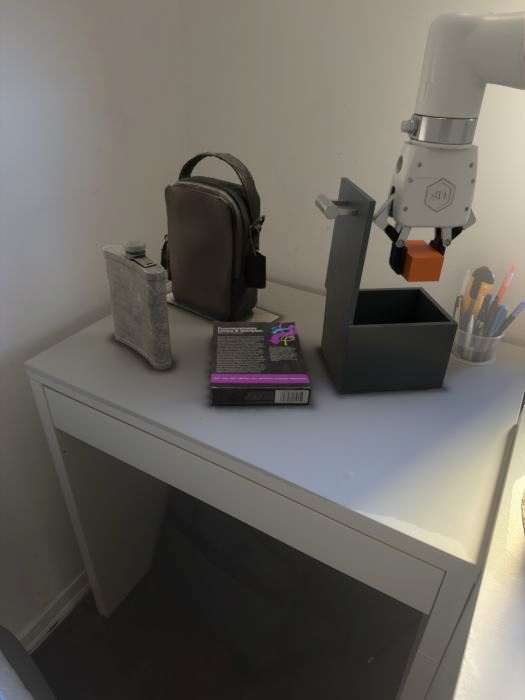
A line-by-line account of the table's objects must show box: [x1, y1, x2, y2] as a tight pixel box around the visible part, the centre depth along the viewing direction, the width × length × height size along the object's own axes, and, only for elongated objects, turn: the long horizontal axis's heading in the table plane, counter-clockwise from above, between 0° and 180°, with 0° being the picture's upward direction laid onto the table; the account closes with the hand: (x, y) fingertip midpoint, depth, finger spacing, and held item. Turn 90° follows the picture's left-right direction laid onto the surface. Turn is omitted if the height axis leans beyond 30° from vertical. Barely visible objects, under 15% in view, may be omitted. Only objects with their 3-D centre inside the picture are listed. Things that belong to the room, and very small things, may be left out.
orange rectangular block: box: [401, 239, 445, 283], centre depth 70 cm, size 7×4×4 cm, turn 7°
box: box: [209, 320, 312, 405], centre depth 77 cm, size 14×4×20 cm
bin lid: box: [314, 176, 377, 325], centre depth 67 cm, size 16×13×5 cm
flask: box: [102, 239, 173, 371], centre depth 77 cm, size 4×14×18 cm, turn 44°
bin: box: [320, 286, 459, 394], centre depth 76 cm, size 16×13×11 cm
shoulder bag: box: [159, 150, 280, 322], centre depth 88 cm, size 23×9×28 cm, turn 53°
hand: (413, 269), depth 71 cm, fingers closed on orange rectangular block, 4 cm apart
